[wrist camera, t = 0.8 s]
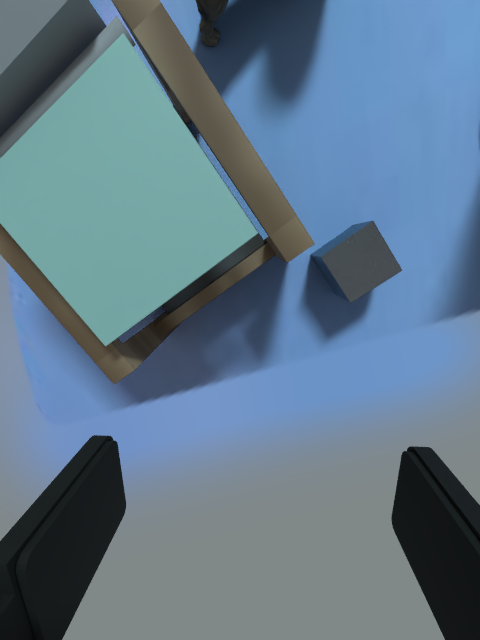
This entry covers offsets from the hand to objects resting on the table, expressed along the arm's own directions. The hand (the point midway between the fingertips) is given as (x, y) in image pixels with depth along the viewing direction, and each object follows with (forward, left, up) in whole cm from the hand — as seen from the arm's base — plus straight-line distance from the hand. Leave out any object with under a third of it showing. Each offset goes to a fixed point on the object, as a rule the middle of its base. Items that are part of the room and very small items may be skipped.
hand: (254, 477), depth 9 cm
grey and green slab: (+1, -16, -12) cm, 20 cm away
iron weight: (-11, +1, -23) cm, 25 cm away
